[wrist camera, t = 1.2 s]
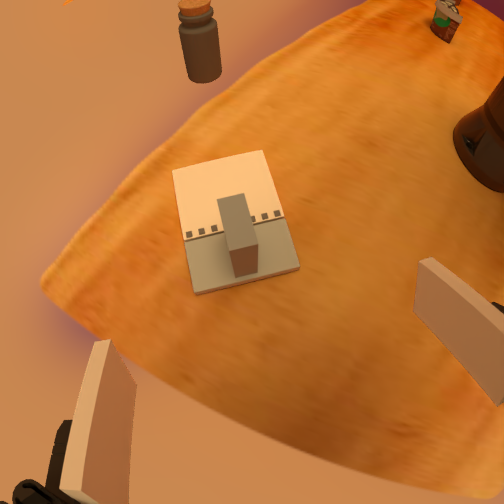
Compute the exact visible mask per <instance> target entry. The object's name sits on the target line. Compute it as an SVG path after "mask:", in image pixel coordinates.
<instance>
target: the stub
mask: <svg viewBox="0 0 504 504" xmlns="http://www.w3.org/2000/svg"><path fill="white" fill-rule="evenodd" d="M217 203H218V207H219V212H220V216H221V221H222V225H223V229H224V233H221V234H217V235H213V236H209V237H205V238H201V239H197V240H193V241H189V242H185V243H184V244H185V249H186V254H187V259H188V264H189V269H190V274H191V279H192V284H193V289H194V293H195V294H196V295H199V294H203V293H208V292H212V291H216V290H220V289H224V288H228V287H232V286H236V285H240V284H245V283H249V282H253V281H257V280H261V279H264V278H268V277H272V276H276V275H280V274H284V273H288V272H292V271H296V270H299V268H300V264H299V260H298V257H297V254H296V251H295V248H294V244H293V241H292V238H291V235H290V232H289V229H288V226H287V222H286V219H280V220H276V221H272V222H267V223H263V224H259V225H255V226H253V223H252V219H251V216H250V212H249V209H248V205H247V201H246V198H245V194H244V193H241V194H237V195H233V196H228V197H224V198H220V199H217Z"/></svg>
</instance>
